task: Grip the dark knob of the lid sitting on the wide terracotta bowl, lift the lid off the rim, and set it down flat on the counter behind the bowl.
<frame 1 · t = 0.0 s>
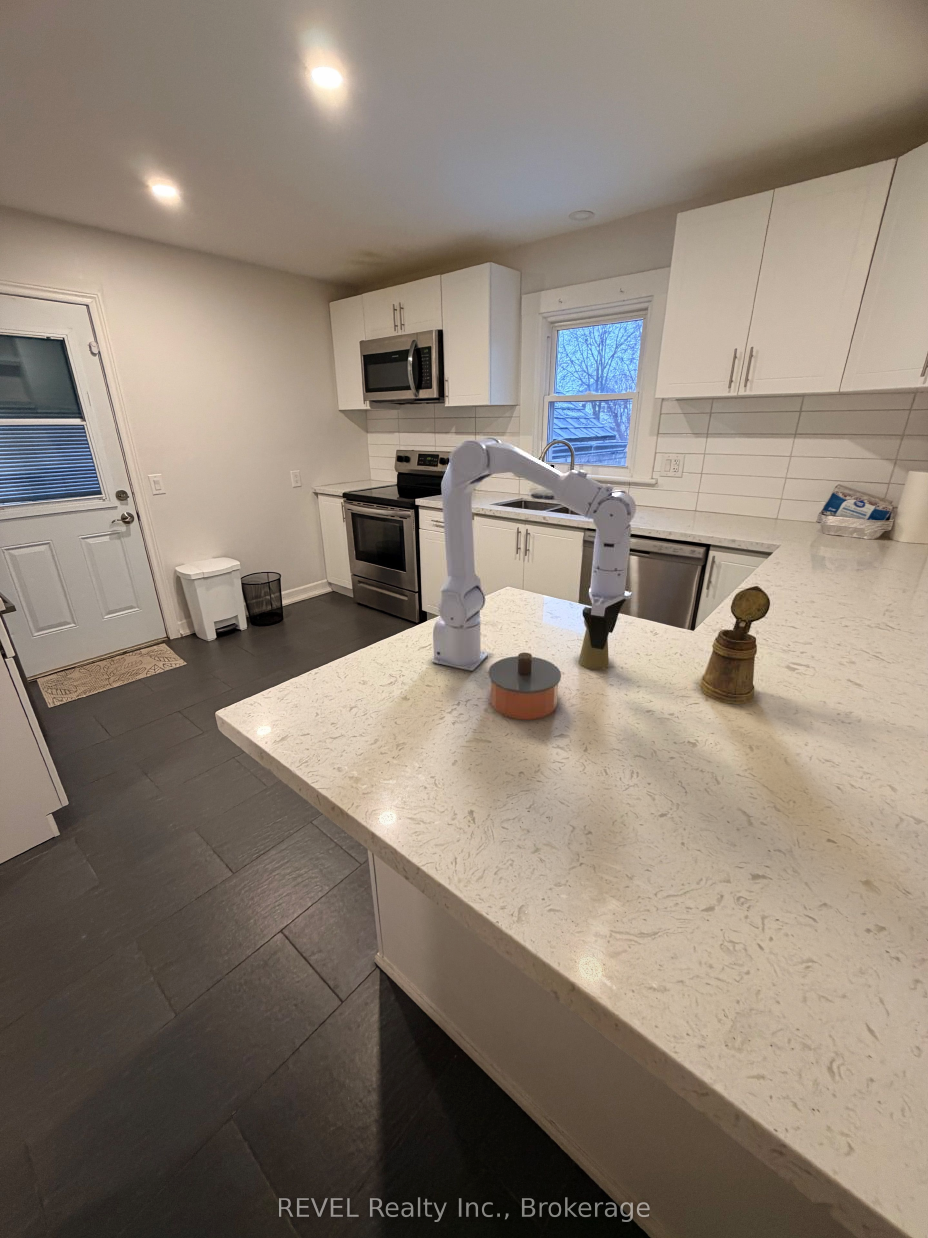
hand: (602, 639, 88), 10 cm above the countertop, tool pointing down, fingers open, 7 cm apart
lid: (524, 674, 87), point 5 cm above the countertop, touching terracotta bowl
terracotta bowl: (523, 701, 89), on the countertop
olive green pepper mill: (593, 663, 102), on the countertop
wooden mug: (728, 687, 92), on the countertop
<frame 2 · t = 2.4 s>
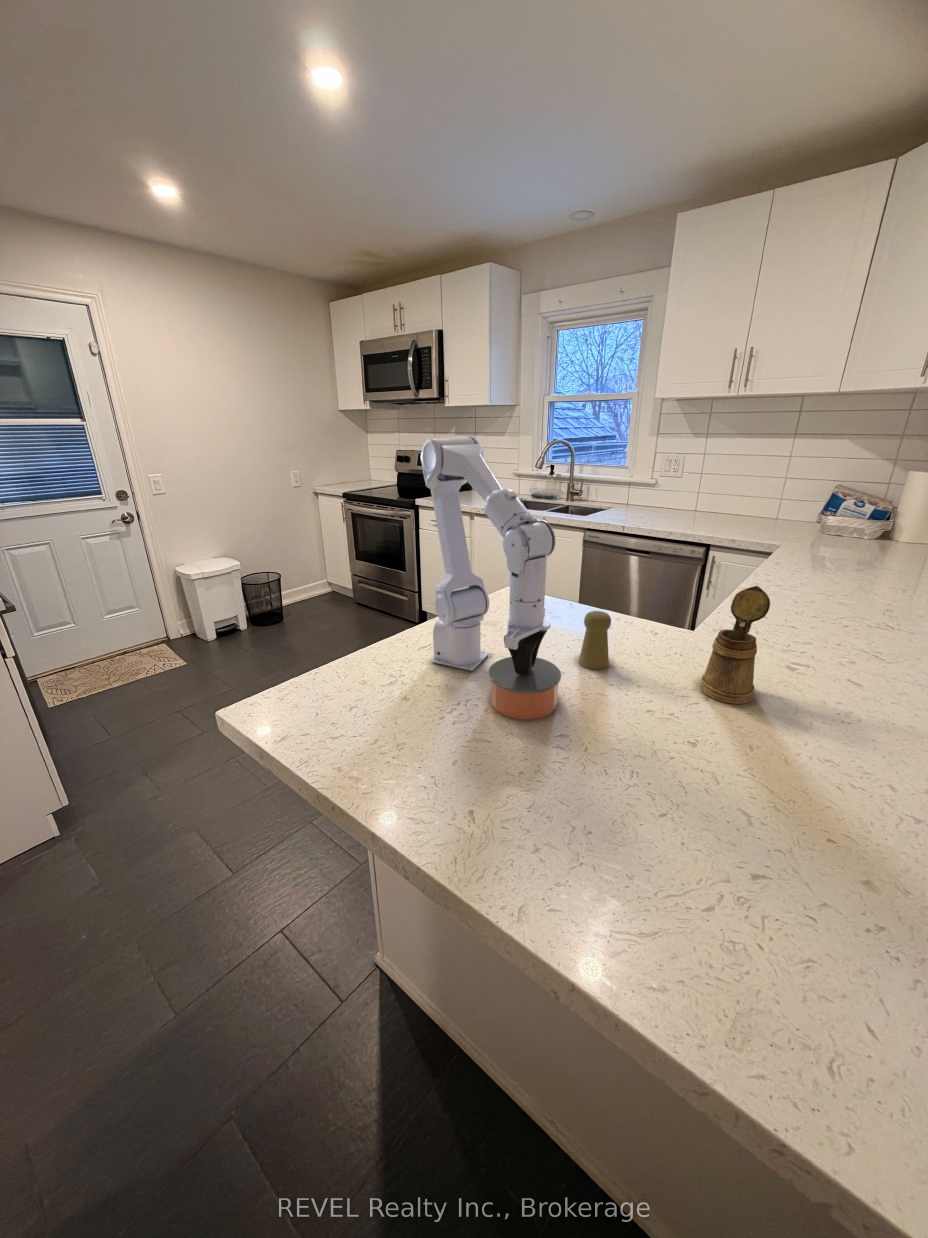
hand: (524, 669, 86), 6 cm above the countertop, tool pointing down, fingers closed on lid, 2 cm apart
lid: (524, 674, 87), point 5 cm above the countertop, touching terracotta bowl, gripper
everything else where it was.
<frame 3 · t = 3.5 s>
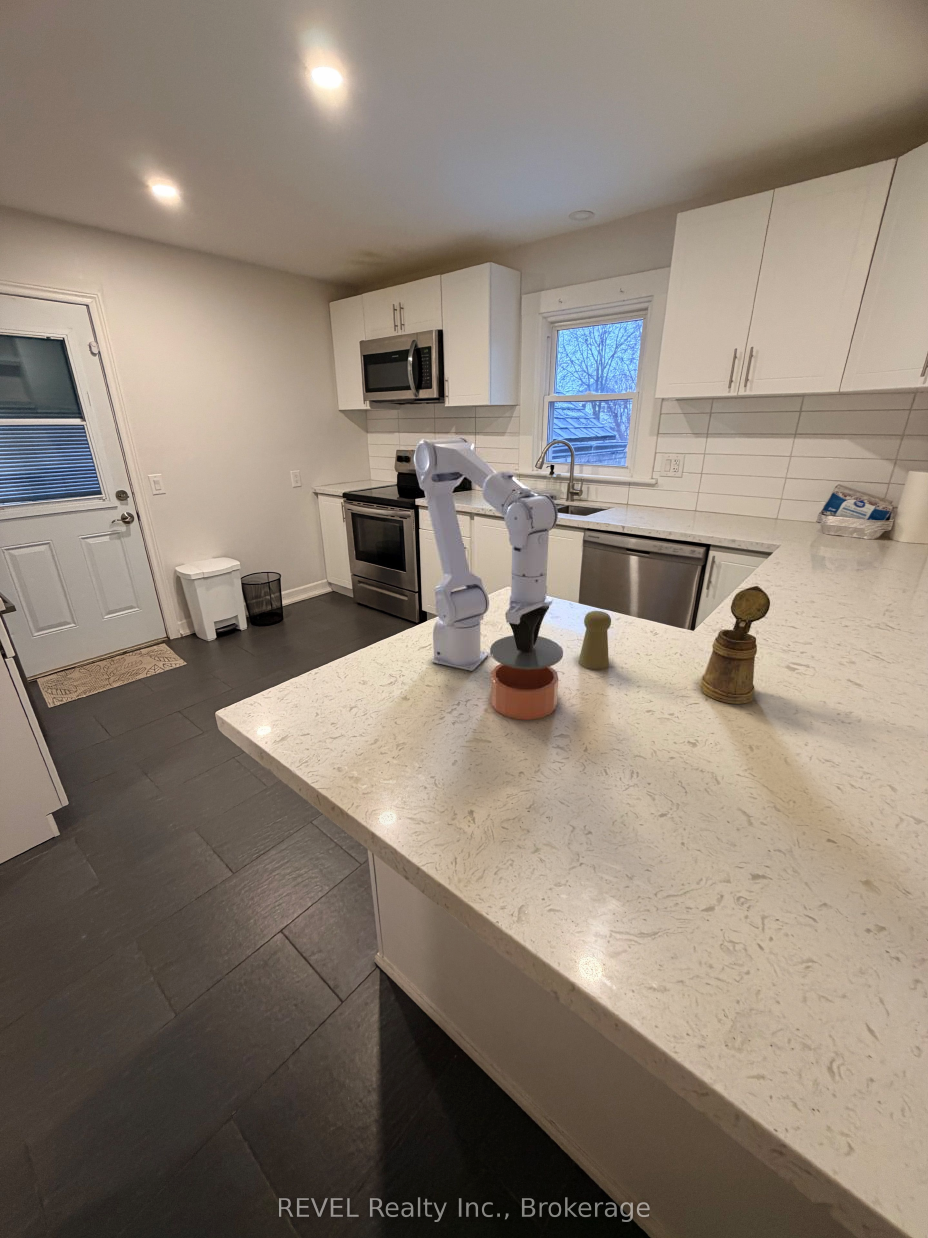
hand: (526, 647, 86), 10 cm above the countertop, tool pointing down, fingers closed on lid, 2 cm apart
lid: (526, 652, 86), point 9 cm above the countertop, touching gripper
everything else where it was.
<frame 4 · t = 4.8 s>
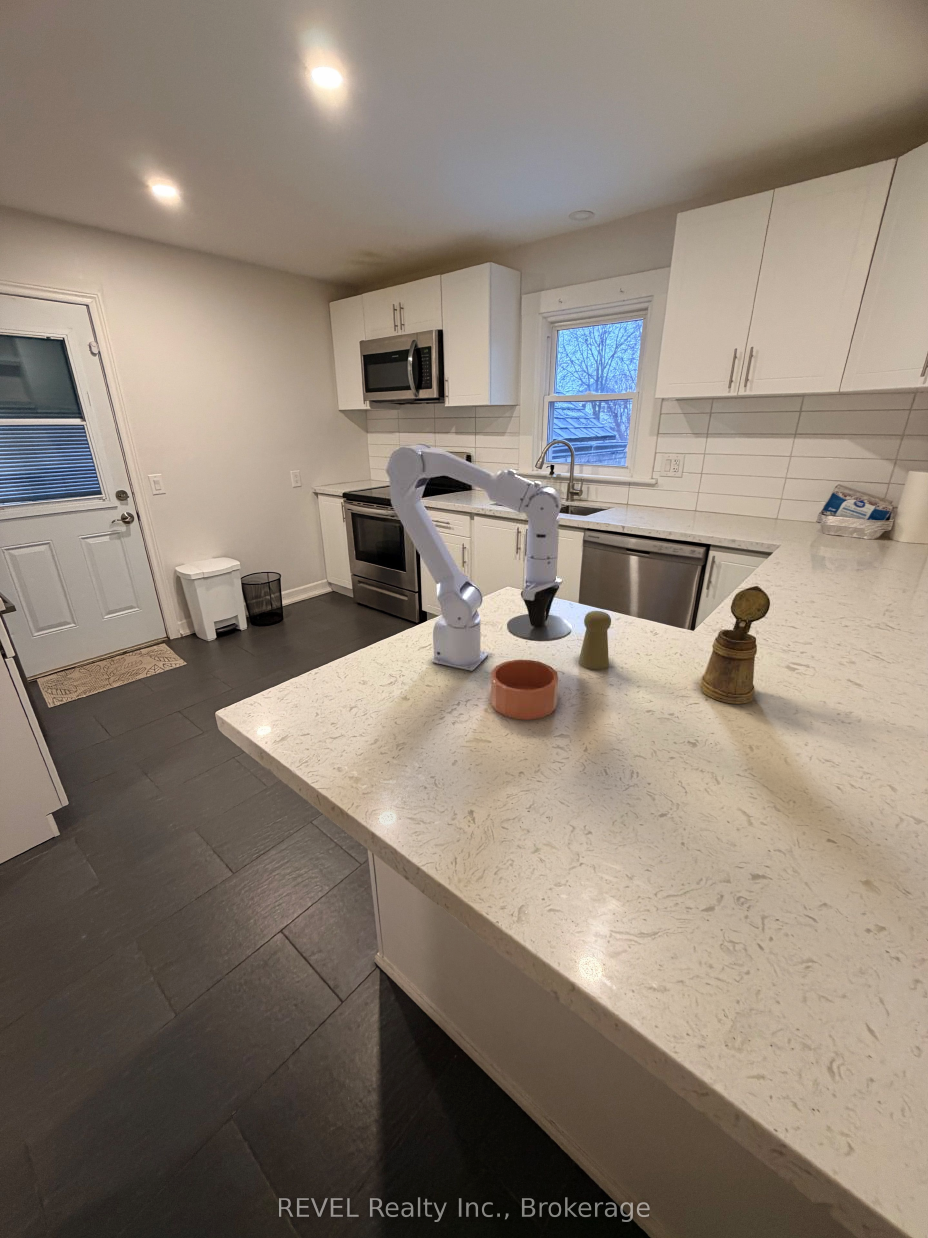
hand: (538, 623, 96), 10 cm above the countertop, tool pointing down, fingers closed on lid, 2 cm apart
lid: (538, 627, 97), point 9 cm above the countertop, touching gripper
everything else where it was.
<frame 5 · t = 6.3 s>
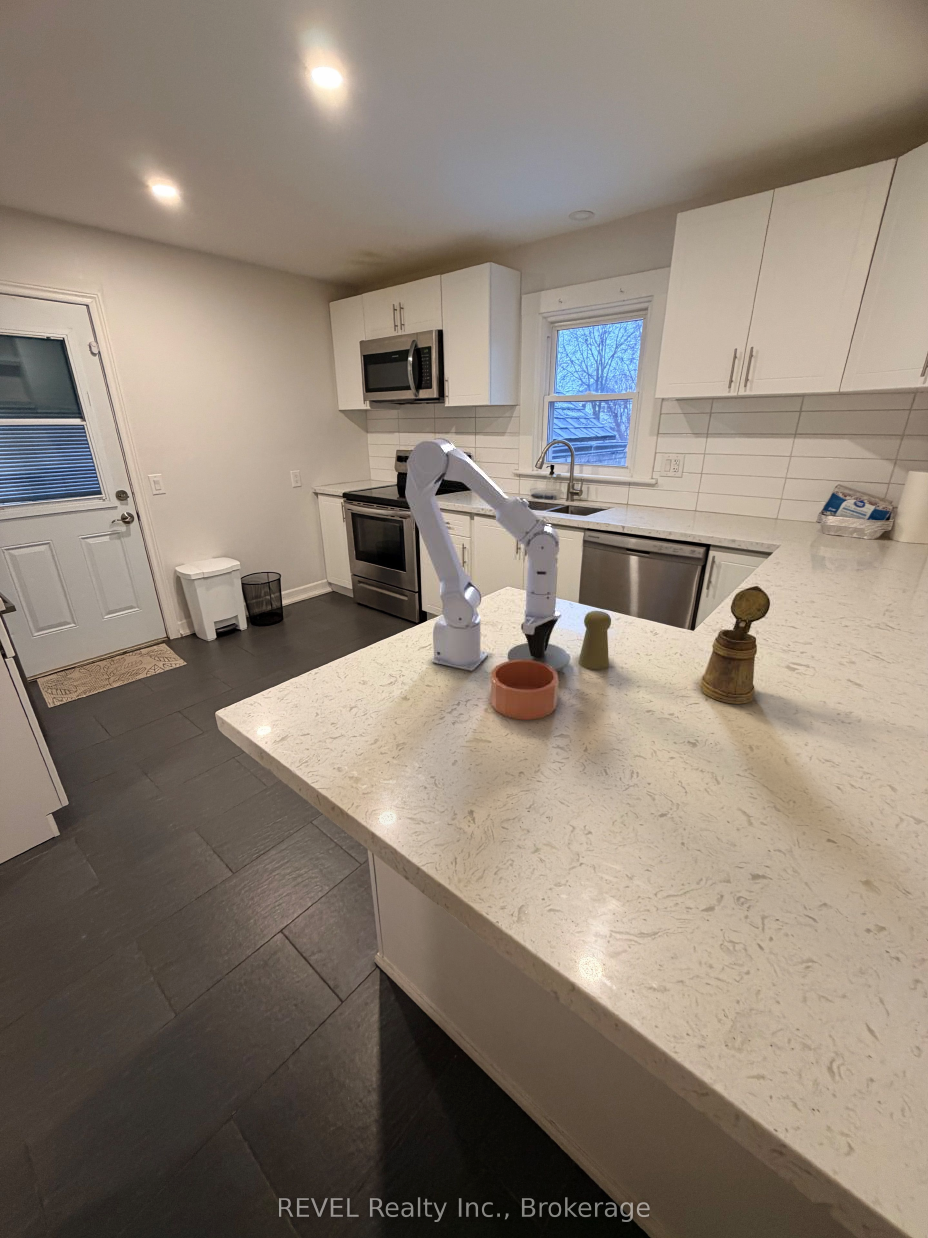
hand: (538, 653, 100), 3 cm above the countertop, tool pointing down, fingers closed on lid, 2 cm apart
lid: (538, 657, 100), point 2 cm above the countertop, touching gripper
everything else where it was.
when the fingers open (2 cm above the countertop, at t = 7.0 s): lid stays where it is, point 1 cm above the countertop.
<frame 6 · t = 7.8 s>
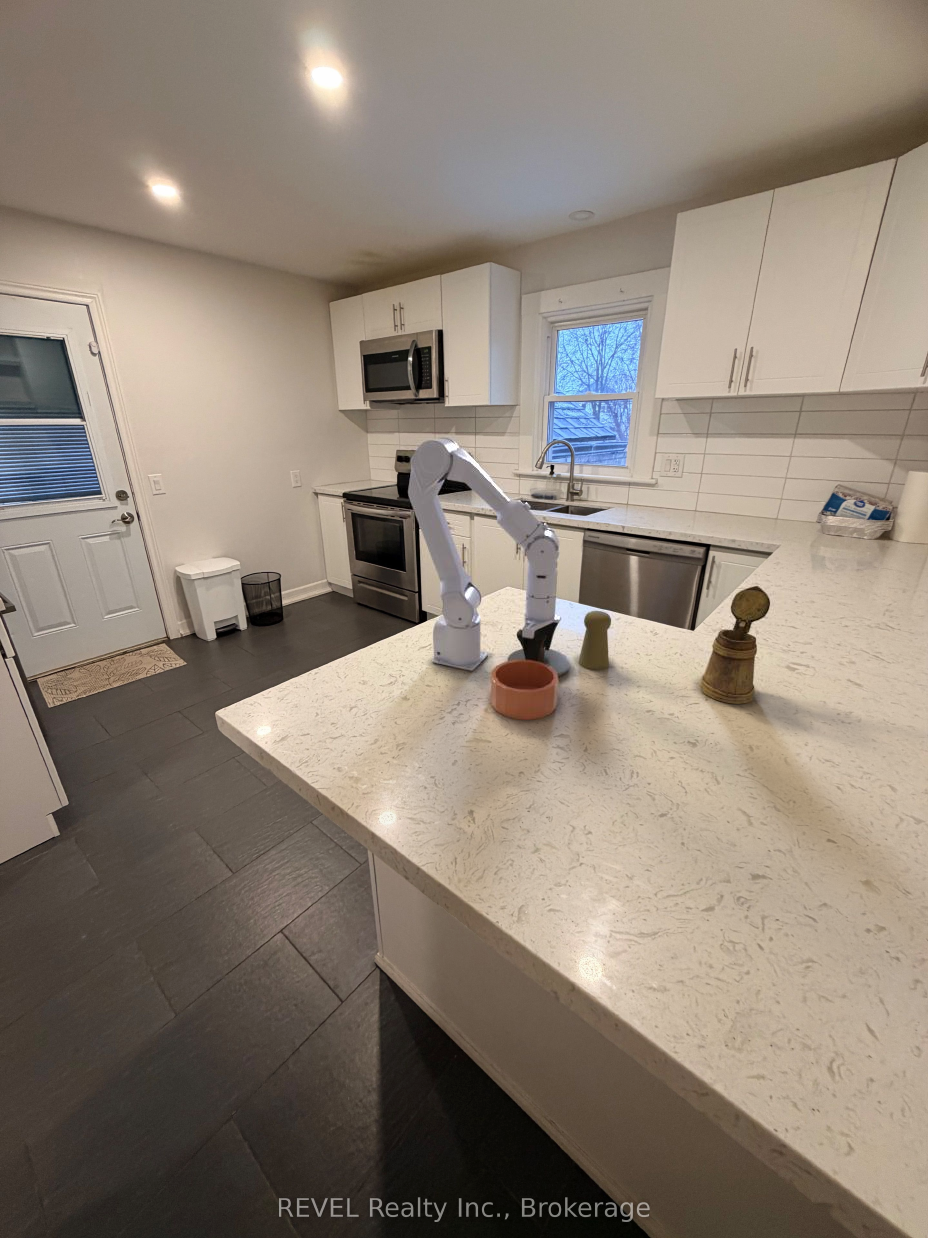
hand: (538, 656, 100), 2 cm above the countertop, tool pointing down, fingers open, 7 cm apart
lid: (538, 663, 101), point 1 cm above the countertop
everything else where it was.
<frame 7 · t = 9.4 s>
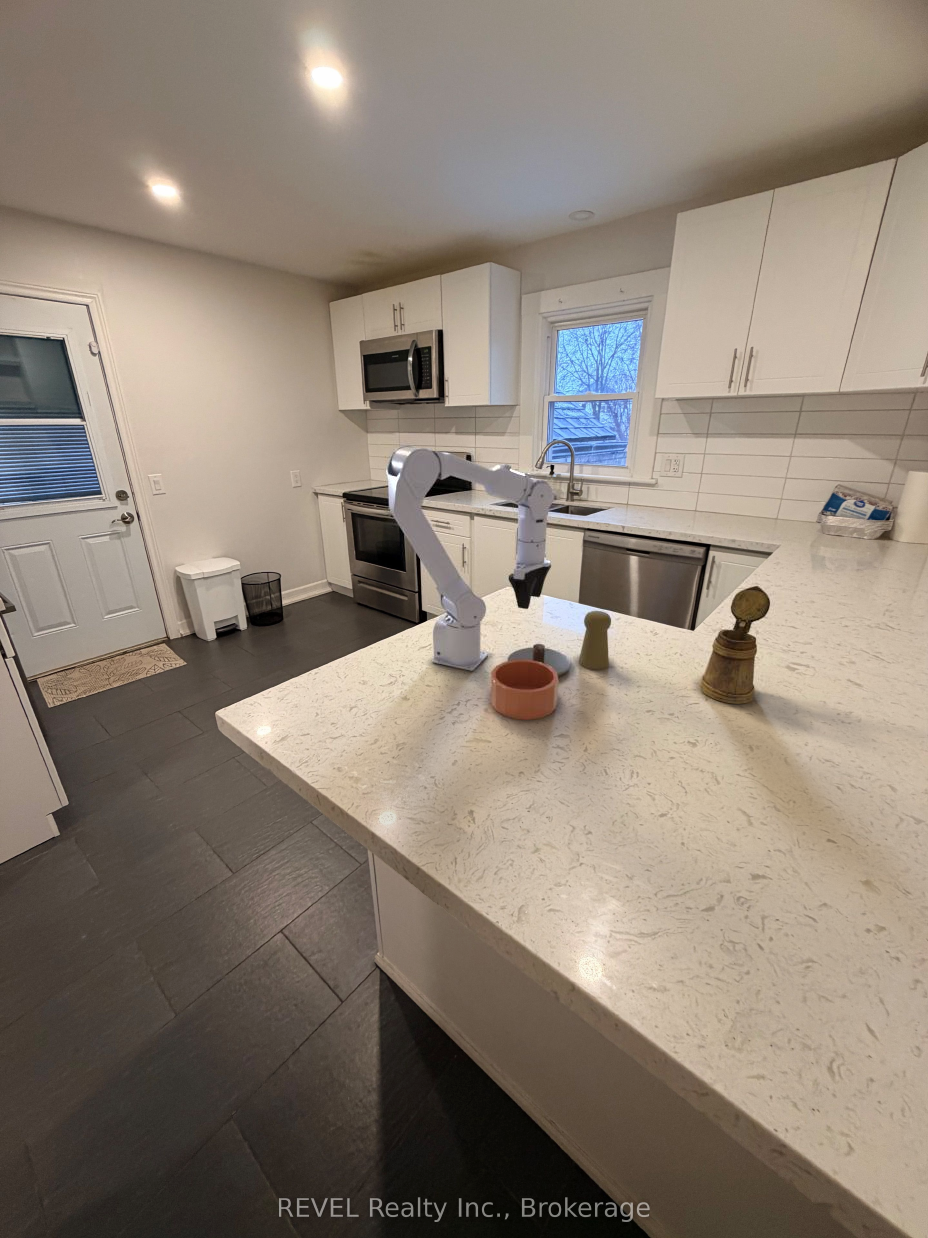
hand: (529, 601, 106), 10 cm above the countertop, tool pointing down, fingers open, 7 cm apart
nothing on the countertop moved.
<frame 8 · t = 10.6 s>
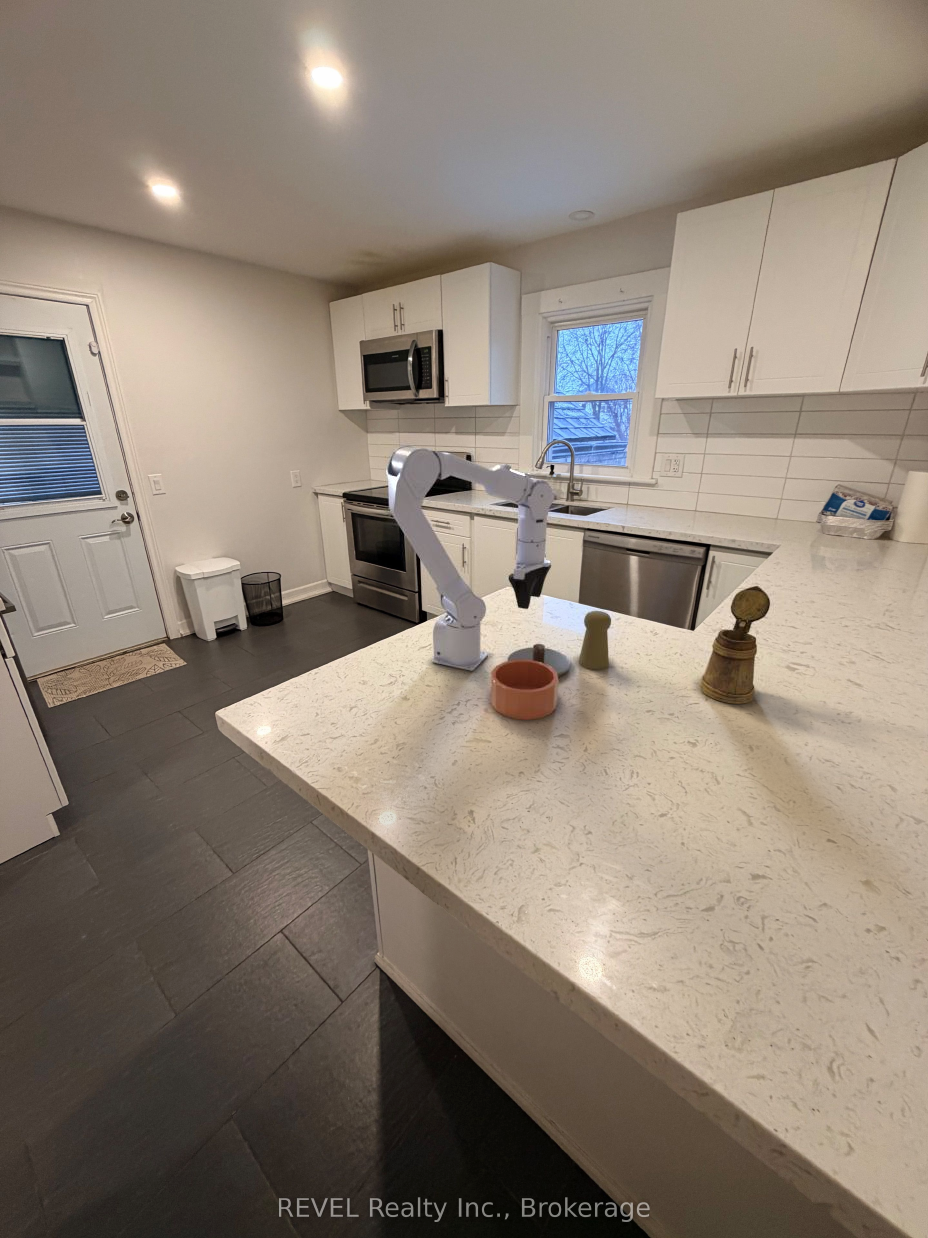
hand: (529, 601, 106), 10 cm above the countertop, tool pointing down, fingers open, 7 cm apart
nothing on the countertop moved.
at the end: lid point 0.6 cm above the countertop; lid inside the target area (0.1 cm from its centre), point 0.6 cm above the countertop; lid tilted 0° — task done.
